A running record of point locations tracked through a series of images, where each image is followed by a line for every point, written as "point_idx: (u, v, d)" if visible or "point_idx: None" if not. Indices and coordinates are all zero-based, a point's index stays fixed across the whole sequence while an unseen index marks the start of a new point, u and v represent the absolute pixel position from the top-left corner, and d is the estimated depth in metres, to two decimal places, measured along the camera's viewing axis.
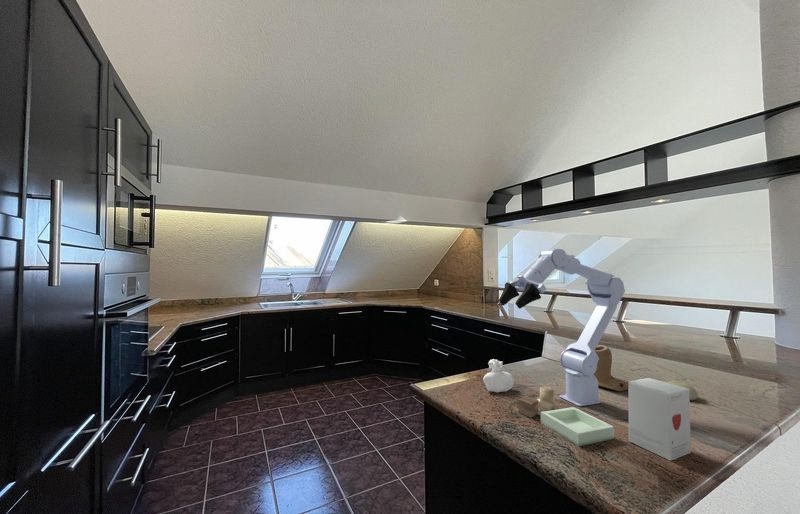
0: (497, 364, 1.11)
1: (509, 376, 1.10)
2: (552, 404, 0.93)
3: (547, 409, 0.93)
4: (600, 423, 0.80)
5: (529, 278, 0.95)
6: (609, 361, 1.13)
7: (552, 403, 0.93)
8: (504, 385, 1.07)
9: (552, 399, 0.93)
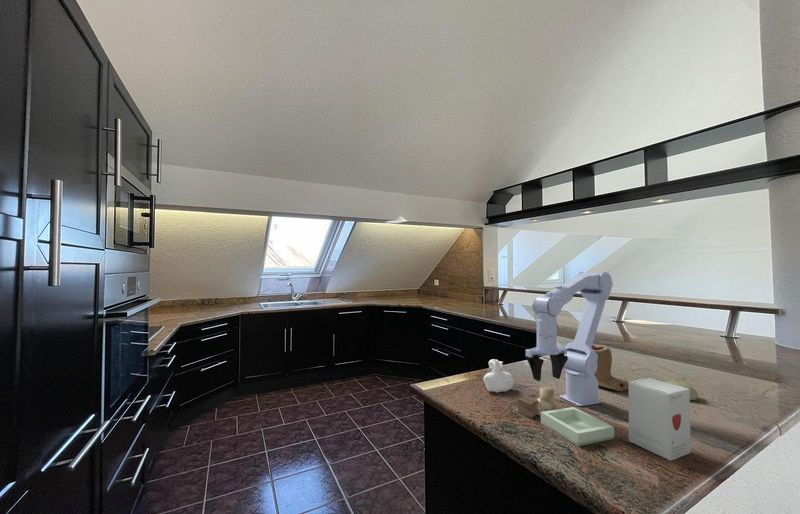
0: (497, 364, 1.11)
1: (509, 376, 1.10)
2: (552, 404, 0.93)
3: (547, 409, 0.93)
4: (600, 423, 0.80)
5: (556, 347, 0.94)
6: (609, 361, 1.13)
7: (552, 403, 0.93)
8: (504, 385, 1.07)
9: (552, 399, 0.93)
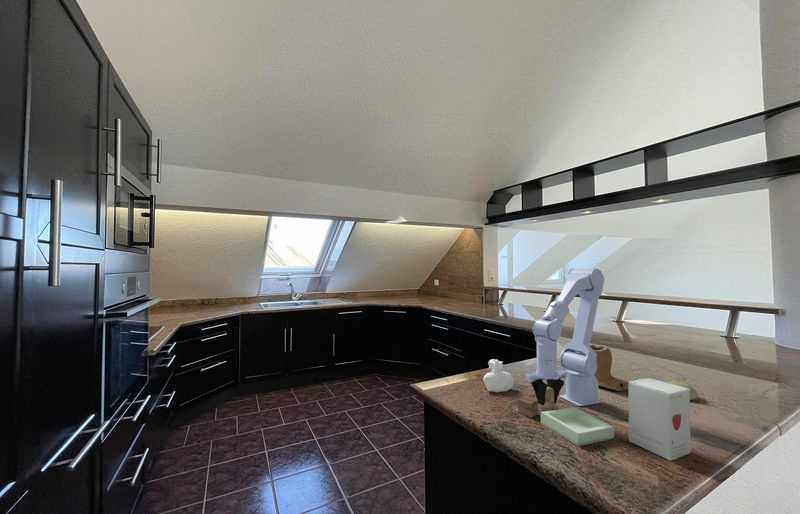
0: (497, 364, 1.11)
1: (509, 376, 1.10)
2: (552, 404, 0.93)
3: (547, 409, 0.93)
4: (600, 423, 0.80)
5: (556, 372, 0.94)
6: (609, 361, 1.13)
7: (552, 403, 0.93)
8: (504, 384, 1.07)
9: (552, 399, 0.93)
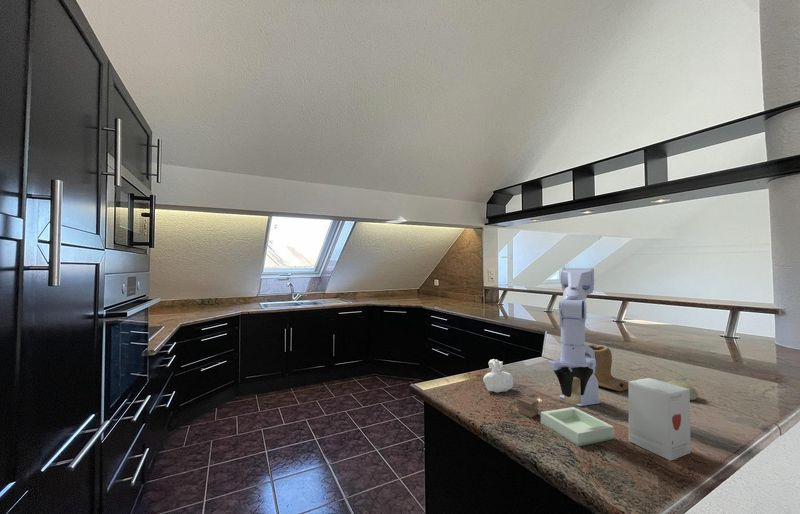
0: (497, 364, 1.11)
1: (509, 376, 1.10)
2: (578, 396, 0.81)
3: (573, 401, 0.81)
4: (600, 423, 0.80)
5: (584, 359, 0.82)
6: (609, 361, 1.13)
7: (579, 394, 0.81)
8: (504, 385, 1.07)
9: (578, 390, 0.82)
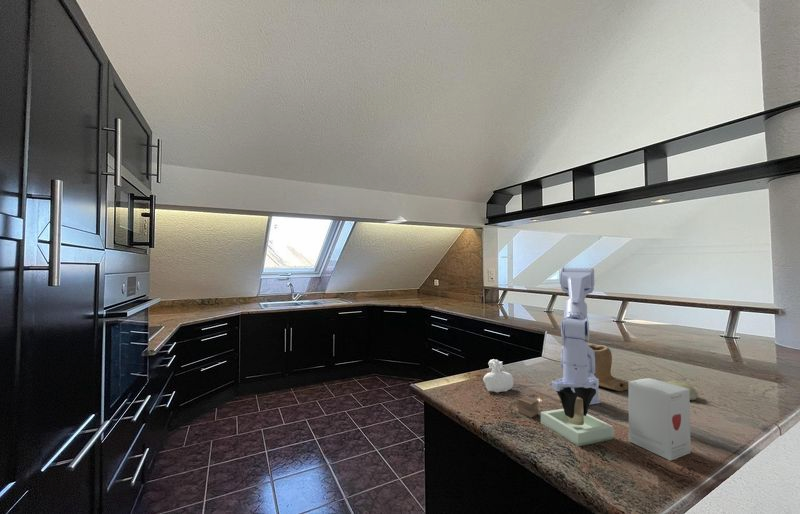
0: (497, 364, 1.11)
1: (509, 376, 1.10)
2: (581, 417, 0.80)
3: (576, 422, 0.80)
4: (600, 423, 0.80)
5: (587, 379, 0.81)
6: (609, 361, 1.13)
7: (582, 415, 0.80)
8: (504, 385, 1.07)
9: (581, 411, 0.80)
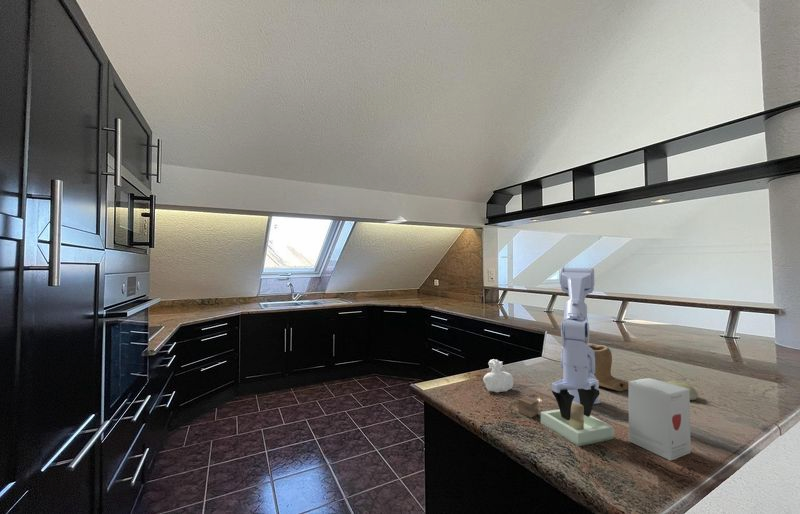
0: (497, 364, 1.11)
1: (509, 376, 1.10)
2: (581, 423, 0.80)
3: (576, 429, 0.80)
4: (600, 423, 0.80)
5: (587, 380, 0.81)
6: (609, 361, 1.13)
7: (582, 422, 0.80)
8: (504, 385, 1.07)
9: (582, 417, 0.80)
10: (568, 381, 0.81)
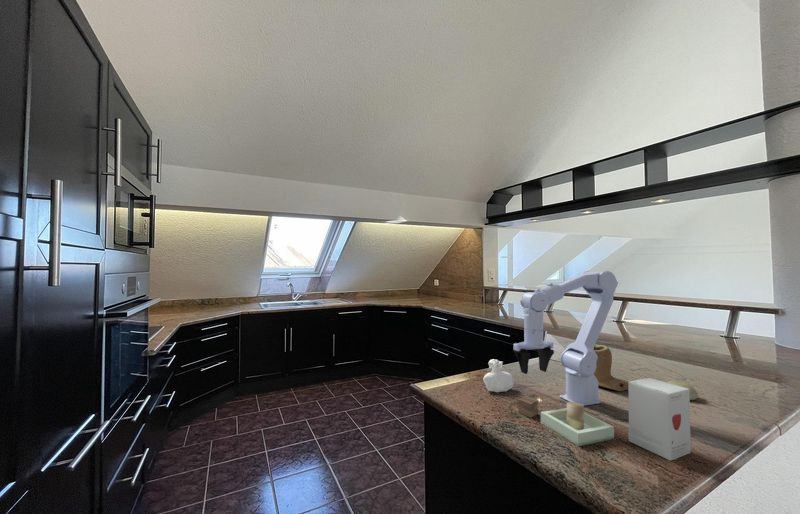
0: (497, 364, 1.11)
1: (509, 376, 1.10)
2: (581, 423, 0.80)
3: (576, 429, 0.80)
4: (600, 423, 0.80)
5: (543, 341, 0.98)
6: (609, 361, 1.13)
7: (582, 422, 0.80)
8: (504, 385, 1.07)
9: (582, 417, 0.80)
10: (527, 342, 0.98)
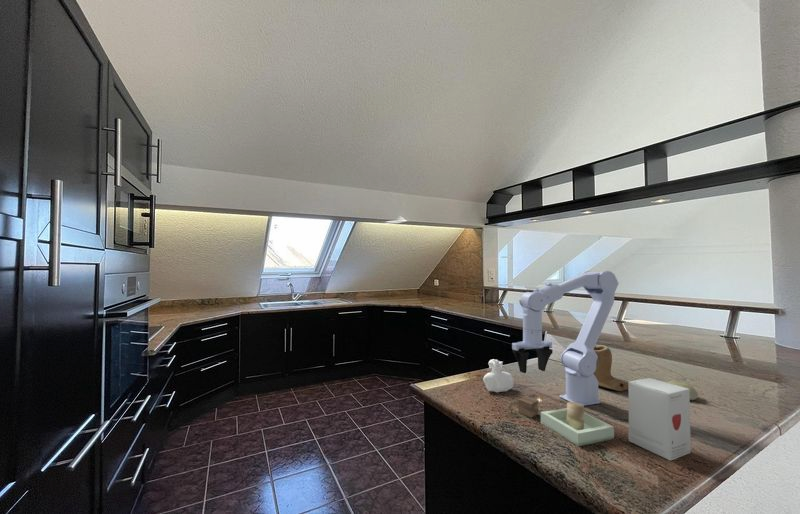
0: (497, 364, 1.11)
1: (509, 376, 1.10)
2: (581, 423, 0.80)
3: None
4: (600, 423, 0.80)
5: (541, 341, 0.99)
6: (609, 361, 1.13)
7: (582, 422, 0.80)
8: (504, 385, 1.07)
9: (582, 417, 0.80)
10: (526, 342, 0.99)
